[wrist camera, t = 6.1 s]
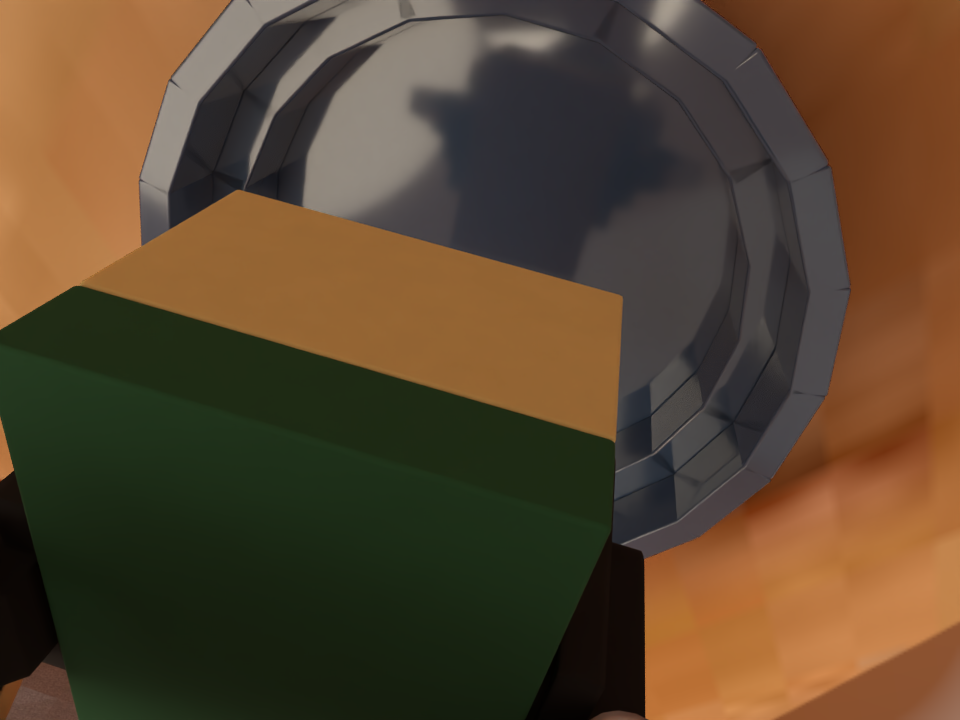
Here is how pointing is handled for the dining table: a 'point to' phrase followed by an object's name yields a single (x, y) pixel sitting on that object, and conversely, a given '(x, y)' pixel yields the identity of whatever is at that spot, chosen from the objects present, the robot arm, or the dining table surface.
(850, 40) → the dining table surface
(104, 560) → the sponge
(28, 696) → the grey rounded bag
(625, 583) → the robot arm
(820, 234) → the bowl
